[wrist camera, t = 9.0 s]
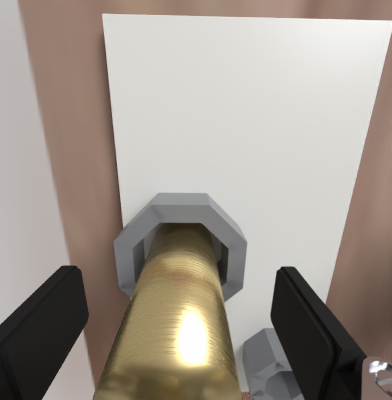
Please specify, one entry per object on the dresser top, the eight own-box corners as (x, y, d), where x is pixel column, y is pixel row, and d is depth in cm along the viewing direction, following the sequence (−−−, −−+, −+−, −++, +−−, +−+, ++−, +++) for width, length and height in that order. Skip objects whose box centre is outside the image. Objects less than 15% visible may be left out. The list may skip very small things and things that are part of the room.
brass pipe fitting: (221, 229, 14) (270, 380, 5) (199, 275, 15) (207, 467, 6) (166, 208, 13) (116, 337, 5) (146, 258, 14) (76, 438, 6)
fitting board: (377, 30, 11) (454, -15, 8) (298, 378, 19) (320, 428, 16) (110, 24, 11) (74, -25, 8) (142, 380, 19) (131, 431, 16)
